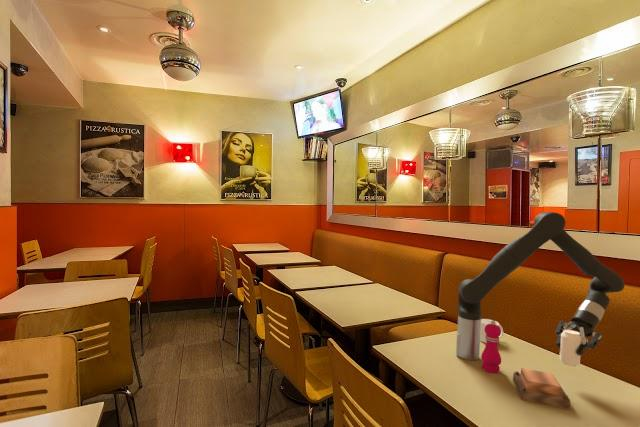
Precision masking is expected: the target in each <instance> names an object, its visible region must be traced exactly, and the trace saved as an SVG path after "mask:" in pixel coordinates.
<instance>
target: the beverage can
mask: <svg viewBox="0 0 640 427" xmlns="http://www.w3.org/2000/svg"><path fill="white" fill-rule="evenodd" d="M580 344H582V338H581V336H580V333H579V332H576V331H573V330H567V328H566V329H564V330H563V333H562V334H561V343H560V348H559V361H560V362H561V363H562V364H564V365H566V366H569V367H577V366H580V364H581V356H582V355H580V356H579V355H577V353H576V350H577V349H578V347H579V345H580Z"/></svg>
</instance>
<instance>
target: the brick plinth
mask: <svg viewBox="0 0 640 427" xmlns="http://www.w3.org/2000/svg"><path fill="white" fill-rule="evenodd" d="M512 381H513V383H514V385H515V388H516V391H517V394H518V395H519V396H518V397H519V398H520V400H523V401H527V402H533V403H537V404H540V405H541V404H542V405H547V406H552V407H556V408H561V409H566V410H570V408H571V407H570V404H571V400H570V398H569V396H568V395H567V393H566V392H565V390H564V389H563V388H562V386H561V385H560V383H559V381H558V379H557V378H556V377H555V375H554V373H551V372H546V371H545V372H544V371H540V370H536V369H528V368H524V367H521V368H520V372H519V371H517V370H516V371H514V372H513V376H512Z"/></svg>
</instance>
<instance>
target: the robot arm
mask: <svg viewBox="0 0 640 427" xmlns="http://www.w3.org/2000/svg"><path fill="white" fill-rule="evenodd" d="M565 226H566V219H565V217H564V216H563V215H562V214H560V213H559V212H554V211H543V212H541V213H539V214H537V215H536V216H535V218H534V220H533V226H532V228H530V230H528V231H527V232H526V233H524V235H522V236H520V237H517V238H516V239H514V240H513V241H511V242H509V243H508V244H507V245H505V246H504V247H503V248H501V249H500V250H499V251H498V252H497V253H496V254H495V255H494V256H493V257H492V258H491V260H490V261H489V263H488V264H487V265H486V267H485V269H484V270H483V271H482V272H481V273H480V274H479V275H477V276H475V278H473V279H471V278H467V279H464V280H462V281H461V283H460V284H459V286H458V297H457V299H458V301H457V302H458V303H457V309H458V311H457V312H458V313H457V316H458V317H457V331H456V341H455V342H456V344H455V345H456V346H455V348H456V349H455V353H456V354H455V355H456V357H459V358H462V359H463V360H469V361H477V360H479V359H480V348H481V347H480V345H481V341H480V331H481V319H482V308H481V307H482V306H481V305H482V304H481V302H482V300H483V299H484V298H485V297H486V296H487V295H488V294H489V292H491V291H492V289H494V288H495V287H496V286H497V285H498V284H499V283H500V282H502V281H503V280H504V279H505V278H507V277H508V276H509V275H510V274H511V273H513V272H514V271H515V270H517V268H519V267H520V266H521V265H522V264H523V263H524V262H526V261H527V259H529V258H530V257H531V256H533V254H534V253H535V252H537V250H538V249H539V248H540V247H542V246H543V245H544V244H546V243H547V242H549V241H551V242H553V243H554V245H556V246H557V247H558V248H559V249H561V251H562V252H563V253H564V254H565V255H566V256H567V257H568V258H569V259H570V261H571V262H573V264H574V265H576V267H577V268H578V269H579V270H580V271H581V272H582V273H583V274H585V275H586V276H590V277H593V278H592V279H591V280H590V282H589V287H588V291H587V295H586V297H585V298H584V300H582V302H581V304H579V306H578V308H577V310H575V313H574V314H573V316H572V318H571V320H570V321H569V322H564V321H563V320H559V322H558V325H557V326H556V328H555V331H554V333H555V334H556V336H557V339H556V341H555V345H556V347H557V348H558V349H560V343H561V334H562V333H563V331H564V330H565V329H567V330H573V331H576V332H579V333H580V336H581V338H582V343H581V344H580V345H579V347H578V349H577V350H576V353H577V355H579V356H580V355H581V356H583V354H585V351H586V350H587V349H591V350H594V349H595V348H596V347H597V346H598V344H599V343H600V342H601V340H602V339H603V337H602V335H601V333H600V332H599V331H598V332H595V330H596V329H597V328H598V325H599V323H600V322H601V320H602V319H603V316H604V314H605V312H606V310H607V308H608V306H610V302H611V300H610V297H609V296H608V295H607V294H611V293H620V292H621V291H623V290H624V289H625V281H624V279H623V278H622V277H621V276H620V275H619V274H618V273H617V272H616V271H614V270H613V269H611V268H609V267H608V266H607V265H604V264H603V263H601V262H600V261H599V259H598V258H596V256H595V255H594V254H592V253H591V252H590V250H589V249H587V248H586V247H585V246H583V245H582V244H581V243H579V241H577V240H576V239H574V238H573V237H572V236H571V235H570V234H569V233H568V232H567V231H566V230H565ZM591 336H592V338H590V337H591ZM588 338H590V340H589V339H588ZM581 356H580V357H581Z"/></svg>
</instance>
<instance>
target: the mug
mask: <svg viewBox="0 0 640 427" xmlns="http://www.w3.org/2000/svg"><path fill="white" fill-rule="evenodd" d="M492 320H493V319H489V318H481V331H480V343H483V342H484V344H487V340H486V335H487V334H486V333H485V326H486V325H488V324H491V321H492ZM494 321H495V322H496V324H495V325H497V326H499V327H500V329H501V335H500V336H499V339H500V338H502V337H503V336H504V329H503V326H502V325H501V324H500V323H499V322H498V321H496V320H494Z"/></svg>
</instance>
